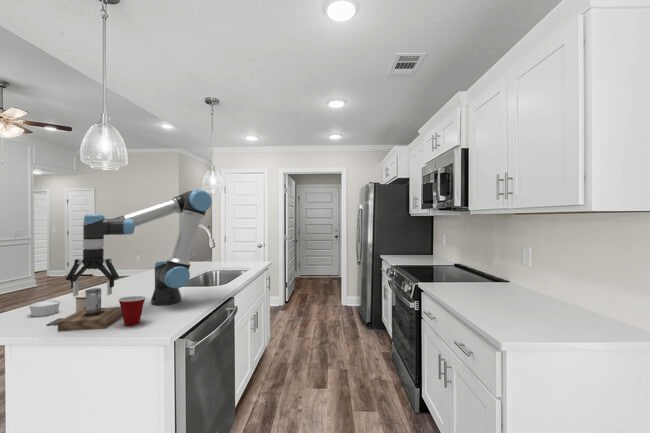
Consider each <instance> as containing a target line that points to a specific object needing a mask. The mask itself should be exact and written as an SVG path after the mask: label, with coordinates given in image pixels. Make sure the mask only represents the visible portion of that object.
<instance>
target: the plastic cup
mask: <svg viewBox="0 0 650 433" xmlns="http://www.w3.org/2000/svg"><path fill="white" fill-rule="evenodd" d="M146 299H147V296H144V295H132V296H131V295H130V296H124V297H121V298H118V299H117V300H118V302H119V307H121V311H122V319H123V324H124V326H125V327H133V326H137V325H139V324H140V323H141V318H142V314H143V313H142V312H143V307H144V304H145V300H146Z"/></svg>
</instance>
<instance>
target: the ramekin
mask: <svg viewBox="0 0 650 433" xmlns="http://www.w3.org/2000/svg"><path fill="white" fill-rule="evenodd" d="M60 305H61V301H60V300H55V299H53V300H44V301H38V302H35V303H32V304H31V303H30V304H29V306H28V307H29V310H30V315H31V316H32V317H34V316H35V318H37V317H39V316H41V317H48V316H52V315H54V314H57V313H58V311H59V308H60ZM47 315H48V316H47ZM39 318H40V317H39Z"/></svg>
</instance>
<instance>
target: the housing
mask: <svg viewBox="0 0 650 433" xmlns="http://www.w3.org/2000/svg"><path fill="white" fill-rule="evenodd" d="M63 318H64V319H62V320H60V321H58V325H57V332H65V331H67V332H69V331H84V330H101V329H108V327H110V326H111V325H112V324H114V323H115V322H117V321H118V320H119V319H121V318H123V316H122V311H121V306H115V307H112V306H111V307H101V314H100V315H99V316H86V309H81V310H80V311H78V312H76V311H75V312H73V313H72V314H70V315H69V316H67V317H63Z"/></svg>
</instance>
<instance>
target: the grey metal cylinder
mask: <svg viewBox="0 0 650 433" xmlns="http://www.w3.org/2000/svg"><path fill="white" fill-rule="evenodd" d="M87 289H88V288H87ZM85 290H86V289H85ZM101 308H102V288H101V287H100V288H99V287H94V288H89V289H88V290H86V316H99V315H100V314H101Z"/></svg>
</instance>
